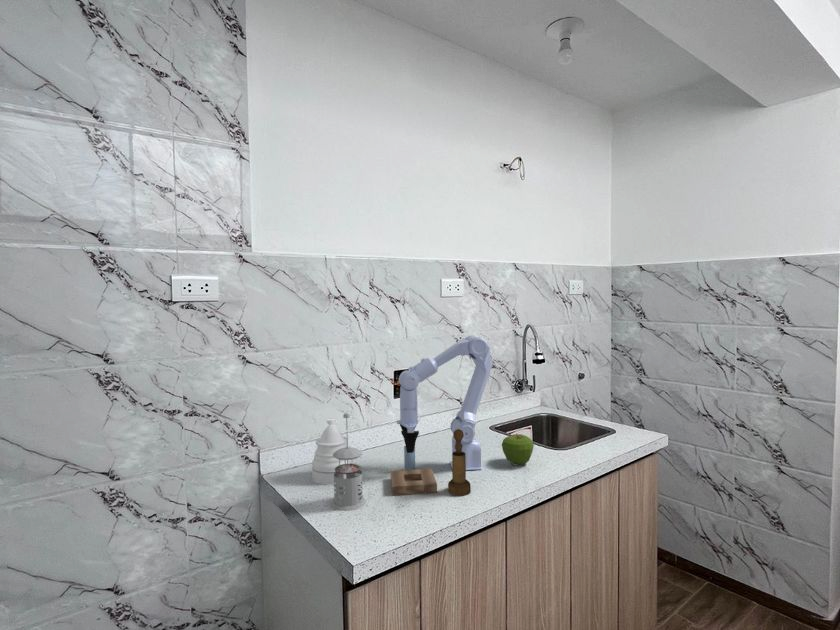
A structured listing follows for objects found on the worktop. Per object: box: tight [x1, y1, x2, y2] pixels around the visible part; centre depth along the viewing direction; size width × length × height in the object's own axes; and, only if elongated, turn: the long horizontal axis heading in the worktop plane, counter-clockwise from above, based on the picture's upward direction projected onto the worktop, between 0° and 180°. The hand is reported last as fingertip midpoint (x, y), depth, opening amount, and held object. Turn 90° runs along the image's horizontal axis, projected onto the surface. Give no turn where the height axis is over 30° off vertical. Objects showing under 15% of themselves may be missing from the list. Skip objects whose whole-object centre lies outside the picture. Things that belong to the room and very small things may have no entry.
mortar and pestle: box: [447, 429, 472, 497], centre depth 126 cm, size 7×6×18 cm
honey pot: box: [311, 418, 354, 486], centre depth 139 cm, size 13×13×18 cm
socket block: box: [390, 468, 438, 496], centre depth 131 cm, size 13×12×2 cm
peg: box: [403, 445, 416, 470], centre depth 143 cm, size 4×4×8 cm
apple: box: [501, 434, 535, 466], centre depth 147 cm, size 11×10×10 cm
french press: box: [330, 412, 367, 512], centre depth 121 cm, size 10×12×25 cm
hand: (409, 448), depth 142 cm, fingers open, 7 cm apart
